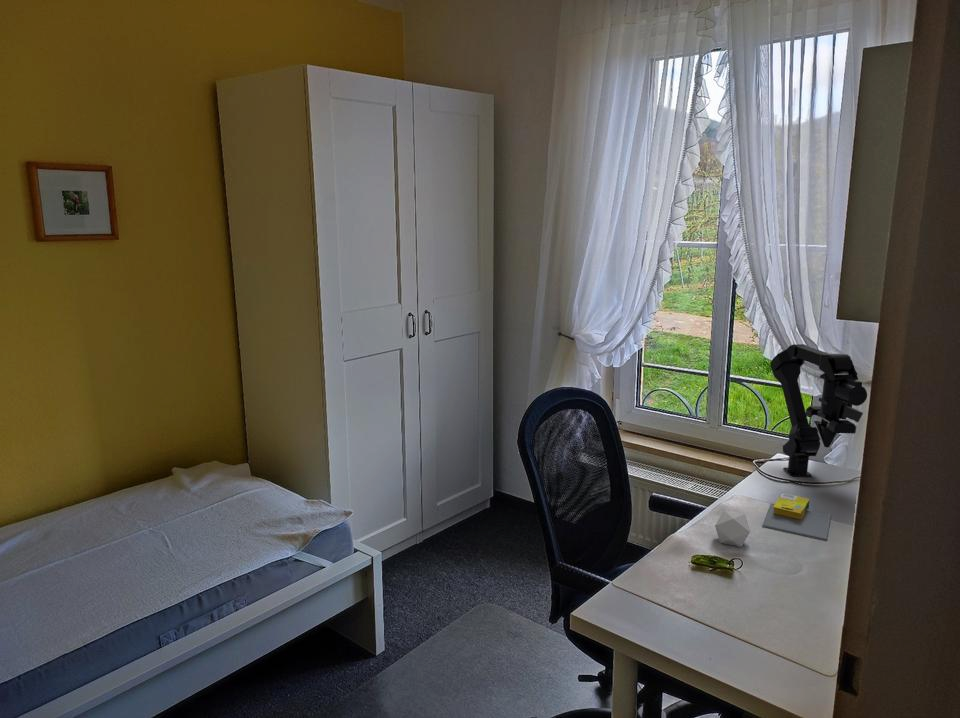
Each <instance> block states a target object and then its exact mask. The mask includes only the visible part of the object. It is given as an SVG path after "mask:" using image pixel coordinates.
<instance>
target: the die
mask: <svg viewBox="0 0 960 718" xmlns="http://www.w3.org/2000/svg"><path fill="white" fill-rule="evenodd" d="M714 527H715V531H716V534H717V537H718V541H719V543H720V544H725V545H728V546H729V545H730V546H734V547H739V548H740V547H743V545H744V544H745V542H746V540H747V538H748V537H749V535H750V533H751V529H750V526H749V522H748V519H747V515H746V513H744V512H738V511H731V510H725V509H723V511H722V513H721V515H720V516H719V517H718V519H717V521H716V523H715V524H714Z"/></svg>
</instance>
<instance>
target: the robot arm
mask: <svg viewBox="0 0 960 718" xmlns="http://www.w3.org/2000/svg"><path fill="white" fill-rule="evenodd" d="M805 362H807V363H810V364H813V365H815V366H817V367H818V369H819V370H820V371H821V372H822V373H821V375H819V378H820V379H821V380H822V379H823V385H822V386H823V387H822V395H821V397H818V401H819V402H820V406H813V405H809V406H808V407H807V408H805V404H804V401H803V396H802V393H801V389H800V384H799V378H800V376H801V367H802V366H803V365H804V364H805ZM769 366H770V369H771V372H772V374H773V377H774V378H775V379H776V380H777V381H778V383H780V385H781V388H782V392H783V396H784V400H785V404H786V410H787V414H788V417H789V421H790V426H791V428H790V430H789V433H788V441H787V442H785V443H784V444H783V445H782V453H783V454H784V455H786V456H788V464H787V467H783V470H784V471H785V472H786V473H787V474H788V475H790V476H791V477H812V473H810V472H809V471H808V468H809V459H810V457H816V456H817V455H818V452H819V450H820V447H821V441H822V444H823V446H824V448H830V446H831V444H832V443H833V441H834V438H835V437H836V436H837V434H853V435H854V434H855V435H856V432H857V425H855V424H854V423H853V422H852V420H853V421H854V422H855V423H859V422H860V420H861V418H862V416H863V415H864V412H863V411H861V410H858V409H857V408H854V407H858V406H862V405H863V404H864V403H865V402H866V400H867V398H868V393H867V390H866V388H865V387H864V386H863V382H862V381H860V380H859V377H858V372H857V371H856V369H855V365H854V362H853V360H852V359H851V355H849V354H847V353H845V354H844V353H828V352H826V351H822V350H819V349H817V348H815V347H811V346H808V345H807V344H801V343H800V344H797V343H796V344H794V343H793V344H791V345H789V346H788V347H787V348H786V349H785V350H782V351H780V352H779V353H777V354H776V355H775V356H774V357H773V358H772V360H771V361H770V365H769ZM853 406H854V407H853ZM813 416H816V417H817V418H816V420H814V421H813V422H814V424H815V426H811V424H810V423H809V420H808V417H809V418H812V417H813ZM848 419H850V420H851V421H850V420H848Z"/></svg>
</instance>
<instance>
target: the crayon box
mask: <svg viewBox="0 0 960 718" xmlns="http://www.w3.org/2000/svg"><path fill="white" fill-rule="evenodd" d="M773 504H774V506H773V507H774V512H773V513H774V514H778V515H782V516H786V517H791V518H795V519H799V520H802V518H803V516H804V515H805V513H806V512H807V511H809V508H810V498H806V497H802V496H798V495H794V494H789V493H784V492H782V493H781V495H780V496H779V497H778V499H777V500H776V502H774V503H773Z"/></svg>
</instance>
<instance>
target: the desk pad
mask: <svg viewBox="0 0 960 718" xmlns="http://www.w3.org/2000/svg"><path fill="white" fill-rule="evenodd" d="M774 504H775V503H770V504H769V507H768V510H767V512H766V514H765V517H764V519H763V522H762V525H761V526H762V527H763V528H766V529H772V530H776V531H781V532H785V533H788V534H789V533H790V534H794V535H798V536H803V537H808V538H813V539H817V540H822V541H826V542H827V540H828V534H829V528H830V527H829V526H830V523H831V517H832V516H831V514H825V513H820V512H816V511H810V510H807V512H806V513H805V515H804V516H803V518H802V520H799V519H795V518H791V517H786V516H782V515H778V514H774V513H773V512H774V507H773V506H774Z"/></svg>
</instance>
